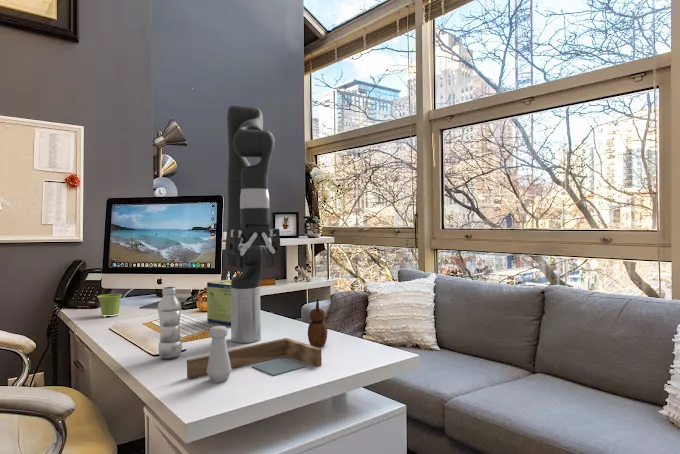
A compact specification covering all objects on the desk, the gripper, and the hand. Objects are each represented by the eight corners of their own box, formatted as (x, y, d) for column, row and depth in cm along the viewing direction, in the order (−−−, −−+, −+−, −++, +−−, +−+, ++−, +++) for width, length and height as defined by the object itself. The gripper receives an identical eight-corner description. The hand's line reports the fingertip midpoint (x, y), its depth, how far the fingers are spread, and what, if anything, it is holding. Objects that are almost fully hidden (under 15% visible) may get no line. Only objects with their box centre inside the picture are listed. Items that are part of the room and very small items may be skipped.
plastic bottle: (159, 362, 127) (158, 290, 127) (157, 356, 133) (155, 287, 133) (184, 359, 130) (182, 288, 130) (180, 353, 136) (179, 285, 136)
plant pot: (92, 318, 188) (91, 297, 188) (107, 313, 198) (107, 293, 197) (113, 318, 187) (112, 297, 187) (127, 314, 196) (127, 293, 196)
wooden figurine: (324, 348, 138) (323, 299, 138) (305, 348, 139) (305, 298, 139) (329, 343, 145) (328, 295, 145) (311, 342, 146) (311, 295, 146)
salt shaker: (209, 376, 115) (208, 324, 115) (232, 375, 115) (232, 323, 115) (204, 384, 109) (203, 329, 109) (229, 383, 109) (228, 329, 109)
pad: (251, 367, 122) (251, 366, 122) (282, 359, 128) (282, 358, 128) (273, 376, 114) (273, 374, 114) (305, 367, 121) (305, 366, 121)
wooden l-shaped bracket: (187, 377, 114) (186, 359, 114) (286, 353, 134) (285, 337, 134) (218, 395, 102) (217, 375, 102) (321, 365, 122) (321, 348, 122)
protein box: (235, 327, 169) (235, 284, 169) (206, 322, 177) (205, 282, 177) (255, 321, 178) (254, 281, 178) (226, 317, 186) (226, 279, 186)
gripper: (269, 207, 127) (270, 266, 128) (223, 207, 118) (223, 270, 118) (285, 206, 122) (286, 268, 122) (238, 206, 112) (239, 272, 112)
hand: (255, 269), depth 120 cm, fingers open, 8 cm apart
